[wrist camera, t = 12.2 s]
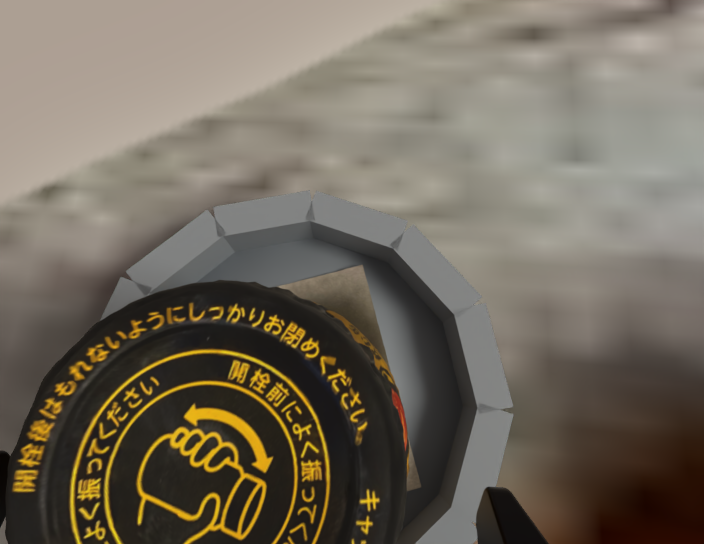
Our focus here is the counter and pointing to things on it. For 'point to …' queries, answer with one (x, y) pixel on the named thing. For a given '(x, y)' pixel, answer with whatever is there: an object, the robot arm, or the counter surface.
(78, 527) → the condiment
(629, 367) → the counter surface
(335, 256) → the dish
